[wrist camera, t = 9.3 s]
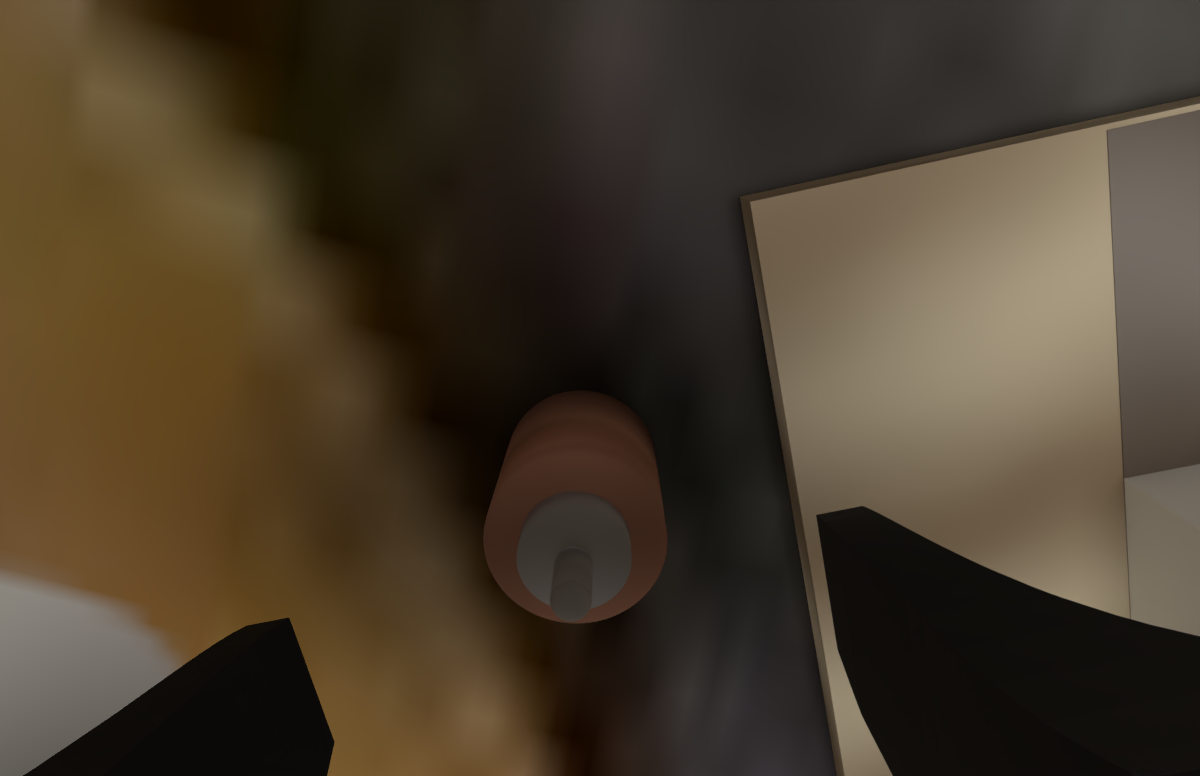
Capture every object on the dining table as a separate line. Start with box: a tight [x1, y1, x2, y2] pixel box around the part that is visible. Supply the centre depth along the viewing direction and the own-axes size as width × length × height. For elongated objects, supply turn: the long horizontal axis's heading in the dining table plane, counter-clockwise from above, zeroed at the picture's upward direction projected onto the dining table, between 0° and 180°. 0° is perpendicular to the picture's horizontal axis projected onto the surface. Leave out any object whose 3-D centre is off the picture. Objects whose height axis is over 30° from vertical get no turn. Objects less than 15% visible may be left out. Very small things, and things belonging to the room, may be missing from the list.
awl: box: [483, 390, 667, 623], centre depth 15 cm, size 3×3×6 cm
